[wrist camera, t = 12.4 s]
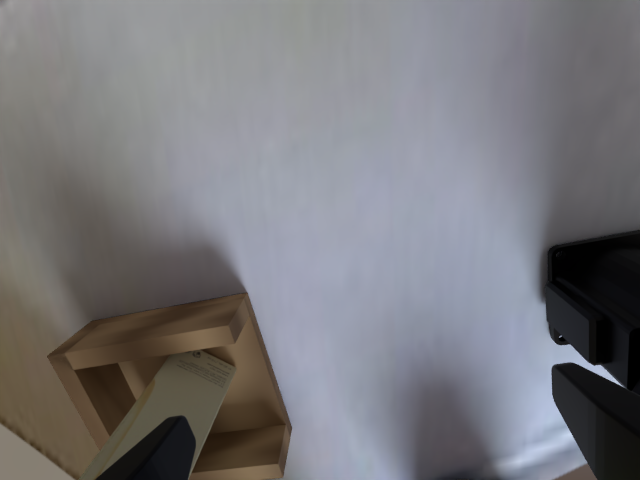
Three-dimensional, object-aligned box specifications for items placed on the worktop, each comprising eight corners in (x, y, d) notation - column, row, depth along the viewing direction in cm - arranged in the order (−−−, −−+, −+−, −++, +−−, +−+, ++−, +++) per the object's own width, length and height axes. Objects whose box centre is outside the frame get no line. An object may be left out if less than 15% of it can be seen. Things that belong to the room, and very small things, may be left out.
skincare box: (181, 337, 23) (14, 555, 11) (240, 366, 23) (136, 604, 12) (149, 403, 25) (-19, 644, 14) (204, 428, 25) (87, 683, 14)
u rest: (247, 292, 22) (228, 325, 19) (291, 428, 26) (283, 477, 22) (91, 321, 24) (46, 356, 21) (152, 445, 28) (124, 493, 24)
